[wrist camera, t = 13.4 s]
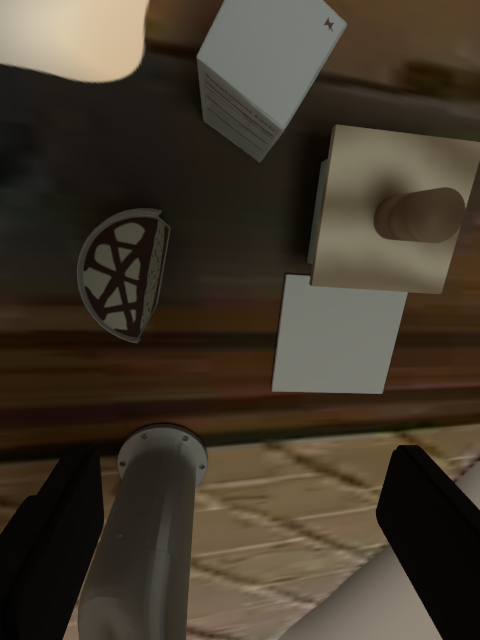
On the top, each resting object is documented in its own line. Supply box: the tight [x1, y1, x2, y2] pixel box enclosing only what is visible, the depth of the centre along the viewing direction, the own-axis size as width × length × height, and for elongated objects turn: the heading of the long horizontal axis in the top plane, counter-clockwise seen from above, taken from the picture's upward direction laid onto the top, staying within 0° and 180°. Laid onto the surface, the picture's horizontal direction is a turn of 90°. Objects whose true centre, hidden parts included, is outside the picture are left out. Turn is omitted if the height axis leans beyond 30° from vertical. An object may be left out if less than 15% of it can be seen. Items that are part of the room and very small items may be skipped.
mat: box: [271, 274, 408, 394], centre depth 39 cm, size 16×16×1 cm
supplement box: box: [196, 0, 347, 163], centre depth 25 cm, size 7×7×13 cm
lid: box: [309, 125, 480, 294], centre depth 26 cm, size 14×14×7 cm
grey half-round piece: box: [77, 208, 171, 343], centre depth 30 cm, size 12×6×10 cm, turn 166°
